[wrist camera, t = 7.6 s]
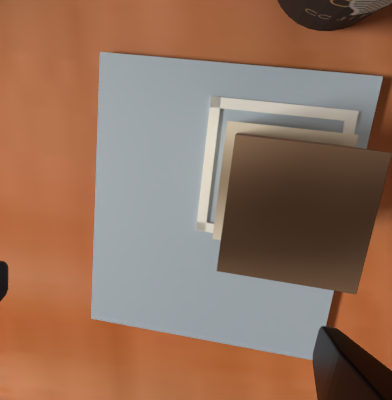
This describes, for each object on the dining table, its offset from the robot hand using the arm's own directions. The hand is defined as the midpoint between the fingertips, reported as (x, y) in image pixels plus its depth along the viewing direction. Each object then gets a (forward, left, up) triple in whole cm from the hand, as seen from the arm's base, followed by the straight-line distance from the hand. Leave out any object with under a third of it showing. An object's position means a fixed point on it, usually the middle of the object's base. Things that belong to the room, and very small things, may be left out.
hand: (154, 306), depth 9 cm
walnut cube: (+3, -4, -7) cm, 8 cm away
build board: (0, -1, -12) cm, 12 cm away
